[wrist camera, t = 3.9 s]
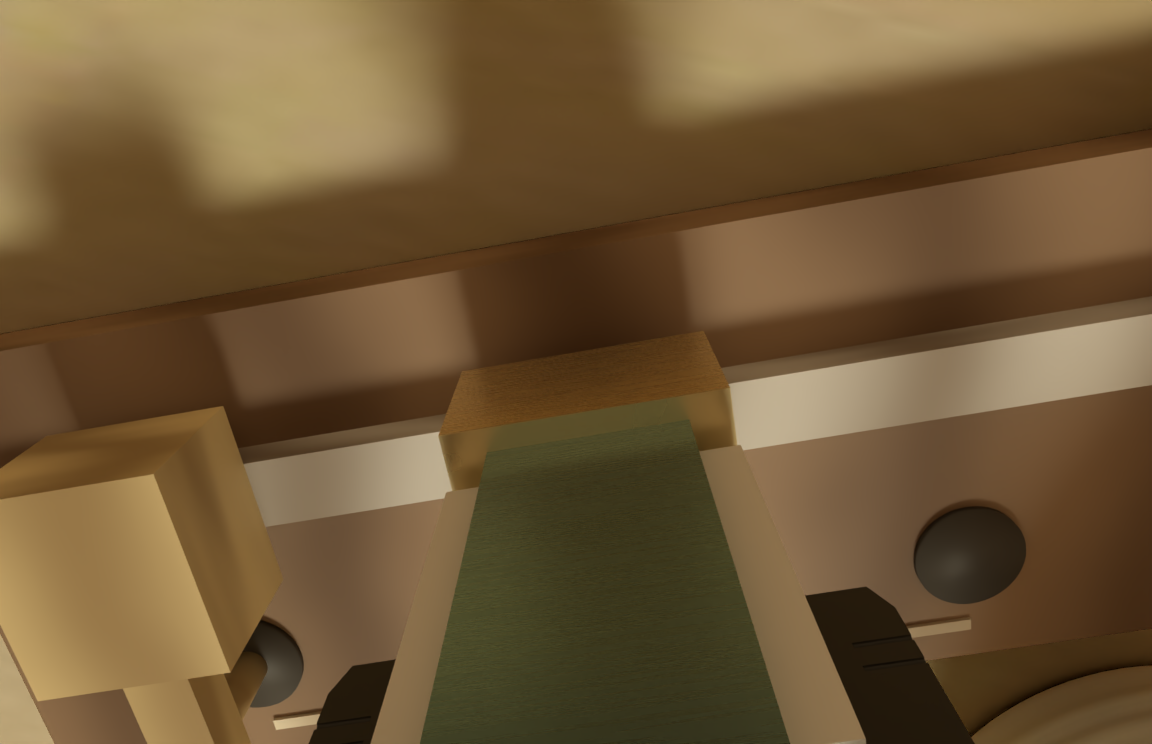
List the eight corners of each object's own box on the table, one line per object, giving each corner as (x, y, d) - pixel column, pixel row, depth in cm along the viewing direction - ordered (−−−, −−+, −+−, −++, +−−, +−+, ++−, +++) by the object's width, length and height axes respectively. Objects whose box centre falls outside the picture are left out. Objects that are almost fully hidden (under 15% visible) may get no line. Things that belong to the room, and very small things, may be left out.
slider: (535, 650, 21) (477, 1482, 9) (466, 358, 18) (244, 958, 6) (738, 620, 21) (975, 1438, 8) (698, 319, 18) (954, 867, 6)
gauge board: (111, 728, 25) (-30, 930, 19) (-65, 345, 21) (-313, 455, 15) (1161, 574, 23) (1358, 746, 17) (1191, 121, 19) (1462, 148, 13)
